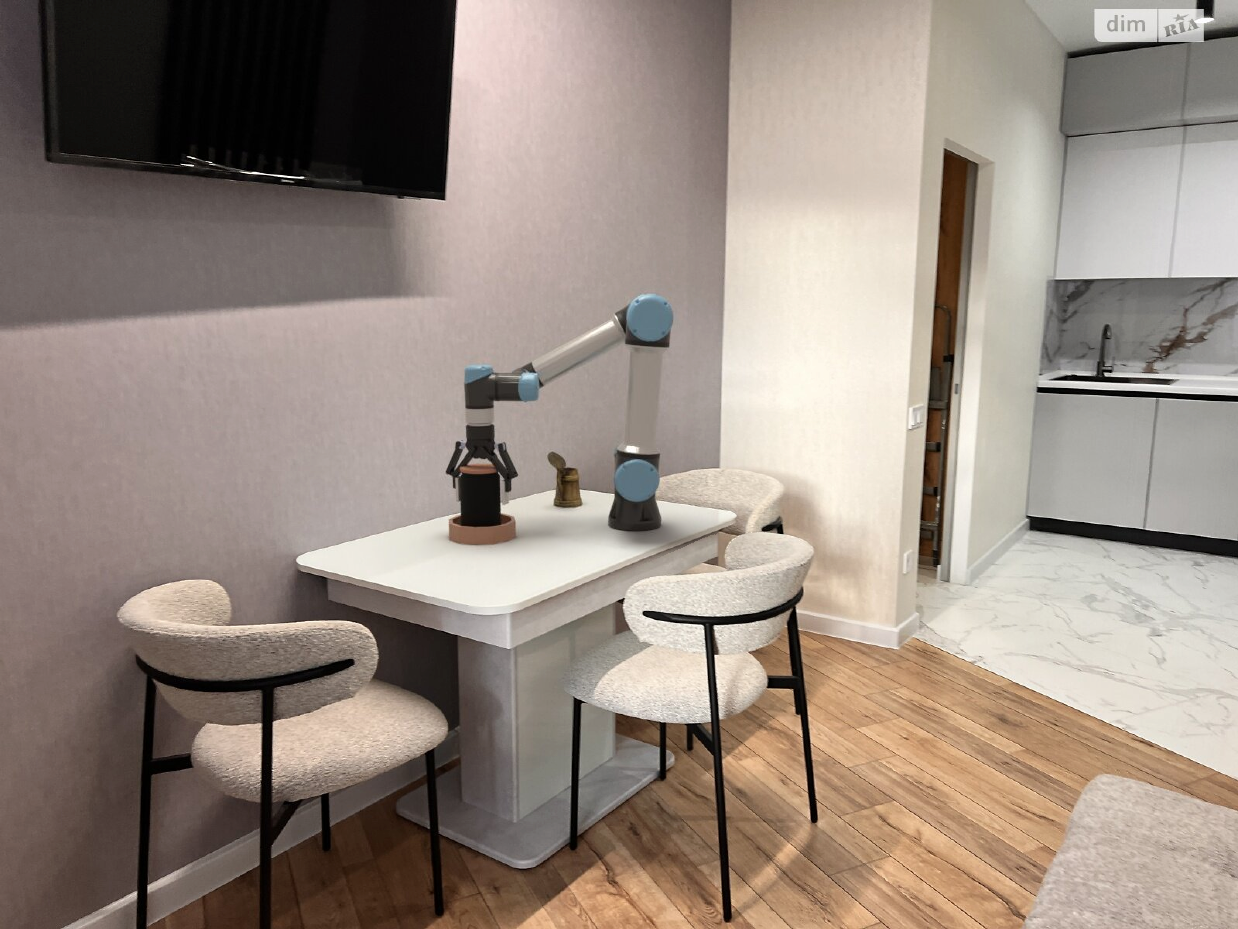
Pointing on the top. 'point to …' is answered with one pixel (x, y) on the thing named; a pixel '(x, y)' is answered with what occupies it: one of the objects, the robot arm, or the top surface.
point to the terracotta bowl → (482, 531)
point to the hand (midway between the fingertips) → (482, 502)
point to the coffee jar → (480, 495)
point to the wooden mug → (565, 483)
